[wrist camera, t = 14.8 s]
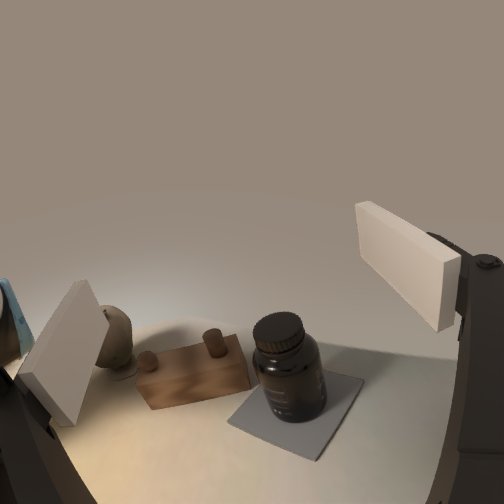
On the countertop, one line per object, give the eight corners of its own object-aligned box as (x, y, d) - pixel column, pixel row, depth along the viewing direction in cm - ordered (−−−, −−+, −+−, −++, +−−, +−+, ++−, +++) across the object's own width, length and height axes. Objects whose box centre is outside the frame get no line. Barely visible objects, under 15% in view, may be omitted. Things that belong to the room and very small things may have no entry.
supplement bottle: (295, 374, 39) (276, 298, 34) (339, 394, 34) (328, 314, 29) (258, 409, 35) (228, 334, 30) (302, 435, 30) (280, 360, 25)
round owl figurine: (88, 384, 46) (132, 390, 43) (51, 328, 42) (92, 328, 39) (116, 347, 55) (159, 348, 52) (86, 294, 51) (128, 289, 47)
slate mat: (227, 422, 35) (226, 421, 34) (282, 360, 43) (282, 358, 42) (315, 461, 27) (315, 460, 27) (364, 381, 35) (363, 379, 35)
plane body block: (151, 410, 39) (124, 369, 36) (155, 381, 44) (132, 340, 41) (250, 389, 39) (233, 344, 36) (245, 360, 45) (229, 316, 42)
